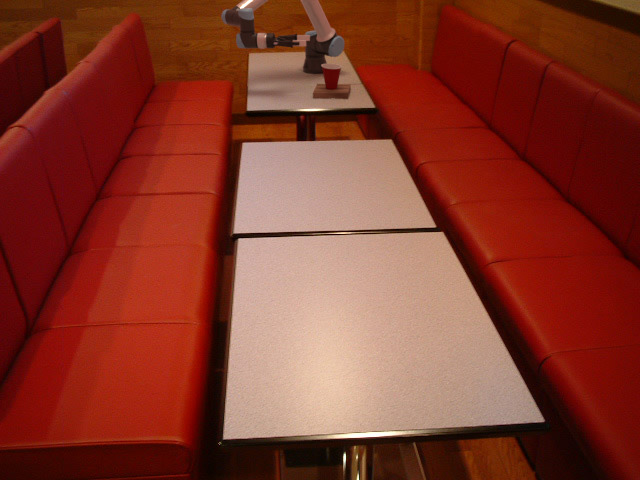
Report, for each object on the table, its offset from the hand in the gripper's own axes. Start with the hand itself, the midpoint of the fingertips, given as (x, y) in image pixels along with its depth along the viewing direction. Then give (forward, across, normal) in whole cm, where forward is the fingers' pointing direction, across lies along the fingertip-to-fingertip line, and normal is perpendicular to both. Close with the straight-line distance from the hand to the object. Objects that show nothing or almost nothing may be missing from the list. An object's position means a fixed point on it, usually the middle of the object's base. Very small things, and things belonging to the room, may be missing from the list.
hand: (308, 40), depth 323 cm
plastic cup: (+12, 0, -24) cm, 27 cm away
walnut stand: (+12, 0, -27) cm, 30 cm away
